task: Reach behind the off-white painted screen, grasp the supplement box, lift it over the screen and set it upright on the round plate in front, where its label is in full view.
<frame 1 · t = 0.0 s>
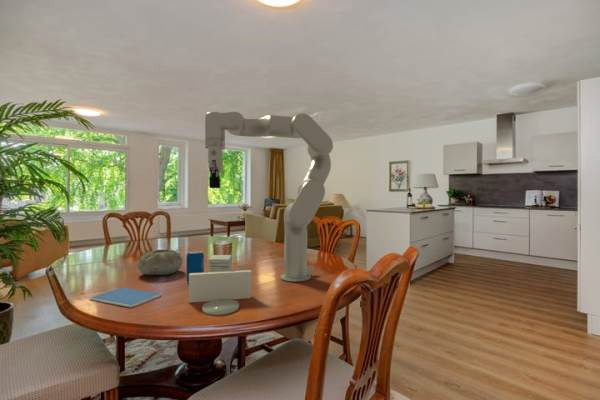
hand: (215, 187, 122), 37 cm above the table, tool pointing down, fingers open, 9 cm apart
grey rounded lump: (160, 274, 134), on the table
round plate: (220, 308, 96), on the table
blue flat slab: (126, 299, 104), on the table
supplement box: (220, 292, 111), on the table
painted screen: (220, 299, 103), on the table
beverage can: (195, 282, 122), on the table
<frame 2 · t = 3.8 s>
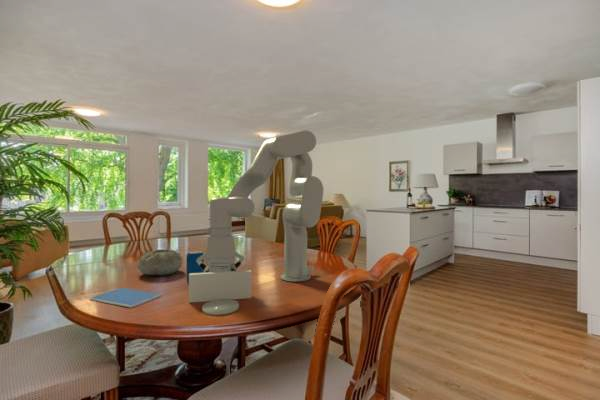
hand: (220, 280, 111), 4 cm above the table, tool pointing down, fingers closed on supplement box, 8 cm apart
supplement box: (220, 292, 111), on the table, touching gripper
everything else where it was.
when the fingers open (6 cm above the table, at t = 11.5 s): supplement box drops 1 cm, resting on round plate.
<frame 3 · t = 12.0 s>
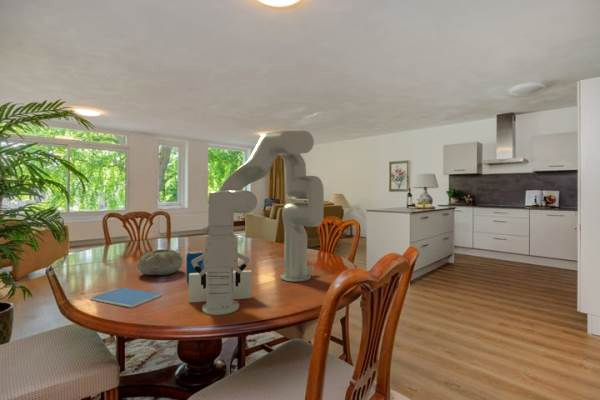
hand: (220, 286, 95), 7 cm above the table, tool pointing down, fingers open, 9 cm apart
supplement box: (220, 306, 96), point 1 cm above the table, touching round plate
everything else where it was.
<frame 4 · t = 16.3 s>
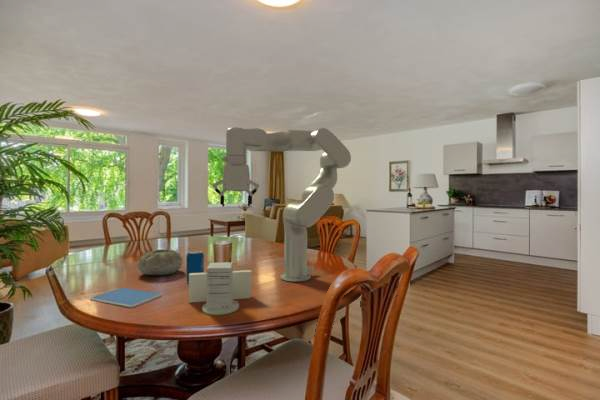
hand: (236, 206, 117), 30 cm above the table, tool pointing down, fingers open, 9 cm apart
nothing on the table moved.
at the end: supplement box 0.2 cm from the round plate (horizontally); supplement box tilted 0°; the gripper is holding nothing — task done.
